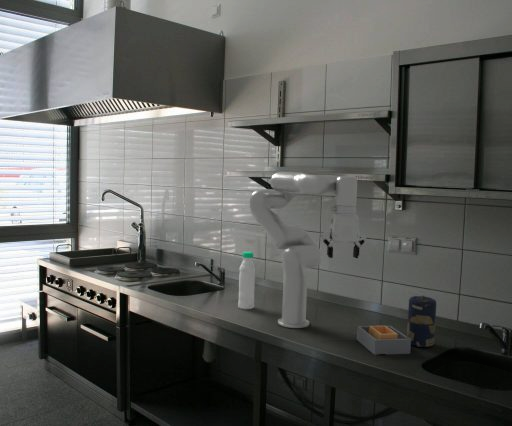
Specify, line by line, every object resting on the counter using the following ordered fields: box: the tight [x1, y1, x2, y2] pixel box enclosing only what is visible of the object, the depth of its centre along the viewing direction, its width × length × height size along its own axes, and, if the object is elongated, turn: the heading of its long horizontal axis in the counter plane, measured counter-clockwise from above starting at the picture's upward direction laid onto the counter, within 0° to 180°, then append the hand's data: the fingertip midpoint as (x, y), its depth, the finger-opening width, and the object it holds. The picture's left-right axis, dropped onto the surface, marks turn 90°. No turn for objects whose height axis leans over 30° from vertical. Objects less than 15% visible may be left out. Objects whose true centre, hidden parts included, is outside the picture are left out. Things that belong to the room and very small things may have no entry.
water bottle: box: [237, 251, 256, 310], centre depth 228 cm, size 7×7×25 cm
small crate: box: [369, 325, 398, 340], centre depth 182 cm, size 10×6×5 cm, turn 10°
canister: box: [406, 295, 437, 348], centre depth 186 cm, size 10×10×18 cm
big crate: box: [356, 325, 412, 356], centre depth 182 cm, size 16×13×5 cm
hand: (343, 257), depth 187 cm, fingers open, 9 cm apart
